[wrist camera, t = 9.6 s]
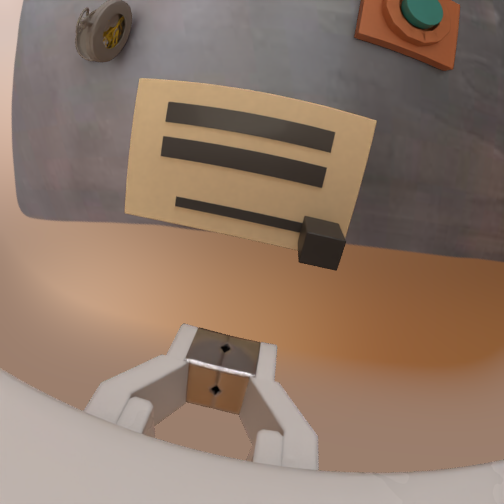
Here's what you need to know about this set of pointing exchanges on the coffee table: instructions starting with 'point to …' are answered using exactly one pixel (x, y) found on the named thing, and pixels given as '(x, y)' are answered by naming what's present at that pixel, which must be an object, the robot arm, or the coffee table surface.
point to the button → (422, 12)
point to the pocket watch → (103, 31)
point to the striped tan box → (243, 160)
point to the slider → (320, 243)
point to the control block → (410, 32)
